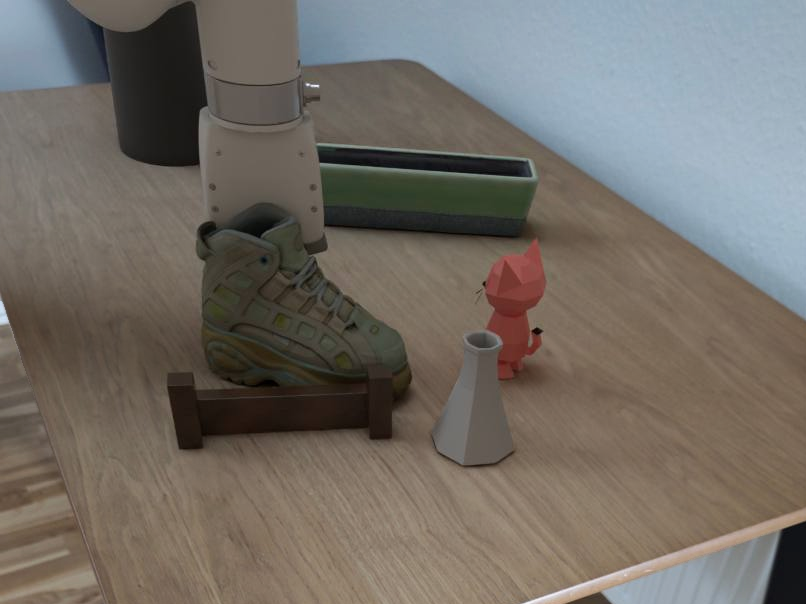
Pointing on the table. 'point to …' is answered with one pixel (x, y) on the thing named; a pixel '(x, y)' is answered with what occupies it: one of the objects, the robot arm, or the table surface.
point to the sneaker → (284, 310)
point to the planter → (425, 189)
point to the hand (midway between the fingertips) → (273, 311)
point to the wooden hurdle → (280, 407)
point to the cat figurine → (515, 306)
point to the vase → (158, 87)
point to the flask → (475, 407)
